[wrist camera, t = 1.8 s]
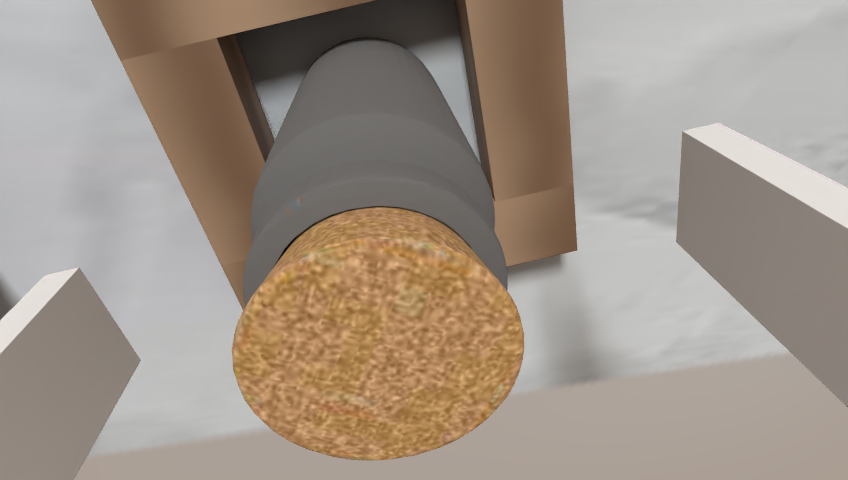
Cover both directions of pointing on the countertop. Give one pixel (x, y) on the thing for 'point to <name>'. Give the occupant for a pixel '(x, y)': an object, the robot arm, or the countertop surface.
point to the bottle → (374, 268)
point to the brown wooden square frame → (252, 140)
